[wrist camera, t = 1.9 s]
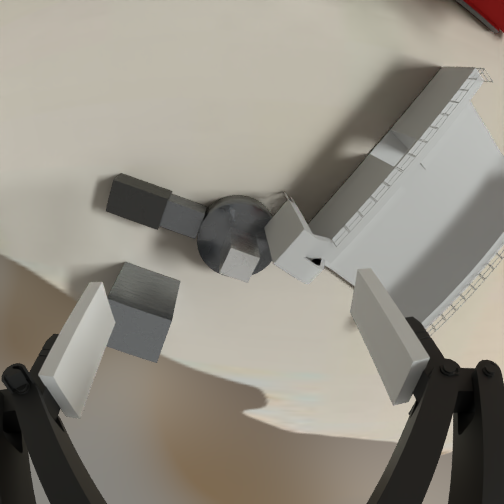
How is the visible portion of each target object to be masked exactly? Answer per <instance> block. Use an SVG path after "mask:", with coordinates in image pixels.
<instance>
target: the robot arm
mask: <svg viewBox="0 0 504 504" xmlns="http://www.w3.org/2000/svg"><path fill="white" fill-rule="evenodd" d="M350 313H351V315H352V317H353V319H354V321H355V323H356V325H357V327H358V329H359V331H360V333H361V335H362V338H363V340H364V342H365V344H366V346H367V348H368V350H369V353H370V355H371V357H372V359H373V361H374V363H375V366H376V368H377V370H378V372H379V375H380V377H381V379H382V381H383V384H384V386H385V388H386V390H387V393H388V395H389V397H390V400H391V402H392V404H393V406H394V405H398V404H402V403H406V402H409V400H410V398H411V396H412V394H414V396H415V398H416V401H415V403H414V405H413V407H412V409H411V410H410V412H409V415H410V416H409V418H408V421H407V423H406V425H405V428H404V430H403V432H402V435H401V437H400V439H399V442H398V444H397V446H396V448H395V450H394V452H393V455H392V457H391V459H390V461H389V463H388V465H387V467H386V469H385V471H384V473H383V475H382V477H381V479H380V481H379V482H378V484H377V486H376V488H375V490H374V492H373V493H372V495H371V497H370V499H369V501H368V502H367V504H422V502H423V499H424V497H425V494H426V492H427V490H428V487H429V485H430V482H431V480H432V477H433V474H434V472H435V469H436V466H437V464H438V460H439V458H440V455H441V452H442V449H443V446H444V443H445V439H446V436H447V433H448V429H449V426H450V422H451V419H452V415H453V455H452V471H451V484H450V492H449V501H448V504H504V383H503V378H502V373H501V370H500V368H499V366H498V365H497V364H496V363H494V362H493V361H490V360H482V361H480V362H479V363H478V364H477V366H476V368H460V366H459V365H458V364H457V363H456V362H455V361H453V360H451V359H445V358H444V357H443V355H442V353H441V352H440V350H439V349H438V347H437V346H436V344H435V343H434V341H433V340H432V338H430V335H429V334H428V332H426V329H425V328H424V326H423V325H422V323H421V322H419V321H418V320H417V319H415V318H414V317H413V316H412V317H404V316H403V314H402V313H401V311H400V310H399V308H398V307H397V305H396V304H395V302H394V301H393V299H392V298H391V297H390V295H389V294H388V292H387V291H386V289H385V288H384V286H383V285H382V283H381V282H380V281H379V279H378V278H377V276H376V275H375V273H374V272H373V271H372V269H371V268H366V269H357V275H356V281H355V287H354V293H353V299H352V304H351V310H350ZM114 325H115V320H114V317H113V314H112V311H111V308H110V305H109V302H108V299H107V295H106V292H105V289H104V285H103V282H90V283H89V284H88V286H87V288H86V289H85V291H84V292H83V294H82V296H81V297H80V299H79V301H78V302H77V304H76V306H75V307H74V309H73V311H72V313H71V314H70V316H69V318H68V320H67V321H66V323H65V325H64V327H63V329H62V330H61V332H60V334H53V335H52V336H51V337H50V338H49V339H48V340H47V341H46V343H45V344H44V346H43V348H42V350H41V352H40V353H39V356H38V357H37V359H36V361H35V363H34V365H33V366H32V368H31V370H30V372H28V370H27V369H26V367H25V366H24V365H23V364H20V363H16V364H13V365H11V366H9V367H7V369H6V370H5V371H4V372H3V375H2V382H3V383H4V384H5V386H6V387H7V389H4V390H0V504H36V501H35V495H34V490H33V484H32V478H31V471H30V464H29V455H28V452H29V454H30V457H31V460H32V462H33V465H34V467H35V470H36V472H37V475H38V477H39V480H40V482H41V484H42V486H43V488H44V491H45V493H46V495H47V497H48V500H49V502H50V504H107V503H106V501H105V500H104V498H103V497H102V495H101V494H100V492H99V490H98V489H97V487H96V485H95V484H94V482H93V480H92V479H91V477H90V475H89V474H88V472H87V470H86V468H85V466H84V465H83V463H82V461H81V459H80V457H79V455H78V453H77V452H76V450H75V448H74V446H73V444H72V442H71V440H70V438H69V436H68V434H67V431H66V429H65V427H64V425H63V423H62V421H61V419H60V417H59V416H58V414H59V411H60V409H61V410H62V412H63V413H64V414H65V416H67V417H73V418H79V419H80V418H81V415H82V412H83V409H84V406H85V403H86V400H87V397H88V394H89V391H90V388H91V385H92V383H93V380H94V377H95V374H96V372H97V369H98V366H99V364H100V361H101V358H102V356H103V353H104V350H105V348H106V345H107V343H108V340H109V338H110V335H111V333H112V330H113V328H114Z"/></svg>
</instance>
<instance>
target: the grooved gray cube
mask: <svg viewBox="0 0 504 504" xmlns="http://www.w3.org/2000/svg"><path fill="white" fill-rule="evenodd" d="M179 285H180V281H179V280H176V279H173V278H170V277H167V276H164V275H161V274H158V273H156V272H153V271H150V270H147V269H144V268H141V267H139V266H136V265H133V264H130V263H128V262H125V264H124V266H123V268H122V270H121V271H120V273H119V275H118V277H117V279H116V281H115V283H114V285H113V287H112V289H111V291H110V293H109V295H108V297H107V299H108V302H109V305H110V308H111V311H112V314H113V317H114V320H115V325H114V328H113V330H112V333H111V335H110V338H109V340H108V343H107V345H106V346H107V347H110V348H113V349H116V350H119V351H122V352H125V353H128V354H131V355H134V356H137V357H140V358H143V359H146V360H149V361H152V362H156V363H157V361H158V358H159V355H160V352H161V349H162V347H163V344H164V341H165V338H166V335H167V333H168V330H169V327H170V324H171V322H172V318H173V313H174V308H175V303H176V298H177V294H178V289H179Z"/></svg>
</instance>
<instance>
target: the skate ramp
mask: <svg viewBox="0 0 504 504" xmlns="http://www.w3.org/2000/svg"><path fill="white" fill-rule="evenodd" d="M477 69H479V70H481V69H485V68H474V67H442V68H441V69H440V70H439V72H438V73H437V74H436V75H435V76H434V78H433V79H432V80H431V81H430V83H429V84H428V85H427V86H426V87H425V89H424V90H423V91H422V92H421V93H420V95H419V96H418V97H417V98H416V99H415V101H414V102H413V103H412V104H411V105H410V107H409V108H408V109H407V110H406V111H405V113H404V114H403V115H402V116H401V117H400V119H399V120H398V121H397V122H396V123H395V124H394V126H393V127H392V128H391V129H390V130H389V132H388V133H387V134H386V135H385V136H384V138H383V139H382V140H381V141H380V142H379V143H378V145H377V146H376V147H375V148H374V149H373V150H372V152H371V153H370V154H369V155H368V156H367V157H366V158H365V160H364V161H363V162H362V163H361V164H360V165H359V167H358V168H357V169H356V170H355V171H354V172H353V174H352V175H351V176H350V177H349V178H348V179H347V180H346V182H345V183H344V184H343V185H342V186H341V187H340V188H339V190H338V191H337V192H336V193H335V194H334V195H333V196H332V198H331V199H330V200H329V201H328V202H327V203H326V204H325V206H324V207H323V208H322V209H321V210H320V211H319V212H318V214H317V215H316V216H315V217H314V218H313V219H312V220H311V221H310V223H309V224H307V222H306V221H305V219H304V217H303V215H302V214H301V212H300V210H299V208H298V207H297V205H296V204H295V202H294V200H293V199H292V197H291V196H290V198H291V200H292V201H290V200H289V198H288V196H287V194H286V193H285V191H284V194H285V196H286V198H287V201H286V202H285V204H284V205H283V206H282V207H281V208H280V209H279V211H278V212H277V213H276V214H275V215H274V216H273V218H272V219H271V220H270V221H269V222H268V224H267V225H266V226H265V227H264V229H265V233H266V237H267V241H268V245H269V249H270V253H271V257H272V261H273V264H274V265H276V266H278V267H279V268H281V269H282V270H284V271H285V272H287V273H288V274H290V275H291V276H293V277H294V278H296V279H298V280H299V281H301V282H303V283H305V284H310V282H311V281H312V280H313V279H314V278H315V277H316V276H317V275H318V274H319V273H320V272H321V271H322V270H323V269H324V266H326V267H328V268H330V269H331V270H333V271H334V272H336V273H337V274H338V275H340V276H341V277H342V278H344V279H345V280H347V281H348V282H349V283H351V284H352V285H353V286H355V281H356V275H357V269H366V268H371V269H372V271H373V272H374V273H375V275H376V276H377V278H378V279H379V281H380V282H381V283H382V285H383V286H384V288H385V289H386V291H387V292H388V294H389V295H390V297H391V298H392V299H393V301H394V302H395V304H396V305H397V307H398V308H399V310H400V311H401V313H402V314H403V316H404V317H412V316H413V317H414V318H415V319H417V320H418V321H419V322H421V323H422V325H423V326H424V328H425V329H427V328H428V327H429V326H430V325H431V324H432V323H433V322H434V321H435V320H436V319H437V318H438V317H439V316H440V315H441V314H442V313H443V312H444V311H445V310H446V309H447V308H448V307H449V306H450V305H451V306H453V305H452V303H453V302H454V301H455V300H456V299H457V298H458V297H459V296H461V295H462V293H463V291H464V290H465V289H466V288H467V287H468V286H469V285H470V286H471V287H472V288H473V289H474V290H475V291H476V289H475V288H474V286H472V285H471V283H472V282H473V280H474V279H475V278H476V277H477V276H478V275H479V274H480V273H481V271H482V270H483V269H484V268H485V267H486V266H487V264H488V265H489V266H490V267H491V268H492V269H493V267H492V265H493V264H492V265H490V264H489V262H490V261H491V260H492V258H493V257H494V256H495V255H496V253H497V252H498V251H499V250H500V248H501V247H502V246H503V245H504V156H503V155H502V153H501V152H500V150H499V148H498V147H497V145H496V143H495V141H494V139H493V138H492V136H491V134H490V132H489V131H488V129H487V127H486V125H485V124H484V122H483V121H482V119H481V117H480V116H479V114H478V113H477V111H476V109H475V108H474V106H473V104H472V102H471V99H472V97H473V96H474V94H475V93H476V92H477V90H478V89H479V88H480V86H481V85H482V84H483V82H484V80H483V78H482V77H481V74H479V72H478V71H479V70H478V71H477ZM481 71H482V70H481ZM483 71H484V70H483ZM483 71H482V72H481V73H483ZM485 71H486V70H485ZM483 74H484V73H483ZM487 74H488V73H487ZM484 76H485V75H484ZM488 76H489V75H488ZM485 77H486V76H485ZM489 77H490V76H489ZM486 79H487V78H486ZM490 79H491V78H490ZM491 80H492V79H491ZM486 82H491V81H488V80H487V81H486ZM492 82H493V81H492ZM289 246H290V247H289ZM503 251H504V250H503ZM497 254H498V253H497ZM501 254H502V253H501ZM501 254H500V255H501ZM500 255H499V254H498V256H499V257H500V258H501V256H500ZM320 258H322V259H321V260H320ZM503 258H504V257H503ZM497 259H498V258H497ZM497 259H496V260H497ZM501 259H502V258H501ZM496 260H495V261H496ZM499 263H500V262H499ZM499 263H498V264H499ZM498 264H497V265H498ZM495 268H496V267H495ZM495 268H494V269H495ZM494 269H493V270H494ZM493 270H492V271H493ZM487 271H488V270H487ZM487 271H486V272H487ZM486 272H485V273H486ZM485 273H484V274H485ZM480 275H481V274H480ZM480 275H479V276H480ZM489 275H490V274H489ZM489 275H488V276H489ZM481 276H482V275H481ZM481 276H480V277H481ZM488 276H487V277H488ZM482 277H483V276H482ZM482 277H481V278H482ZM487 277H486V278H487ZM481 278H480V279H481ZM483 278H484V277H483ZM483 278H482V279H483ZM480 279H479V280H480ZM484 279H485V278H484ZM484 279H483V280H484ZM479 280H478V281H479ZM478 281H477V282H478ZM483 282H484V281H483ZM483 282H482V283H483ZM482 283H481V284H482ZM481 284H480V285H481ZM480 285H479V286H480ZM472 288H471V289H472ZM471 289H470V290H471ZM470 290H469V291H470ZM469 291H468V292H469ZM475 291H474V292H475ZM468 292H467V293H468ZM474 292H473V293H474ZM473 293H472V294H473ZM472 294H471V295H472ZM471 295H470V296H471ZM470 296H469V297H470ZM461 297H462V296H461ZM469 297H468V298H469ZM462 298H463V297H462ZM463 299H464V300H465V301H466V299H465V298H463ZM461 300H462V299H461ZM461 300H460V301H461ZM460 301H459V302H460ZM459 302H458V303H459ZM458 303H457V304H458ZM457 304H456V305H457ZM456 305H455V306H456ZM462 305H463V304H462ZM462 305H461V306H462ZM455 306H454V307H455ZM461 306H460V307H461ZM460 307H459V308H460ZM459 308H458V309H459ZM452 309H454V310H455V312H456V311H457V310H458V309H457V310H456V309H455V308H452ZM452 309H451V310H452ZM451 310H450V311H451ZM450 311H449V312H450ZM449 312H448V313H449ZM455 312H454V313H455ZM448 313H447V314H448ZM454 313H453V314H454ZM447 314H446V315H447ZM453 314H452V315H453ZM446 315H445V316H446ZM452 315H451V316H452ZM441 316H443V315H441ZM445 316H443V317H444V318H445ZM451 316H450V317H451ZM450 317H449V318H450ZM444 318H442V319H444ZM449 318H448V319H449ZM442 319H441V320H442ZM448 319H447V320H448ZM441 320H440V321H441ZM444 320H446V319H444ZM447 320H446V321H447ZM440 321H439V322H440ZM446 321H445V322H446ZM439 322H438V323H439ZM445 322H444V323H445ZM438 323H437V324H438ZM444 323H443V324H444ZM437 324H436V325H437ZM443 324H442V325H443ZM436 325H435V326H436ZM442 325H441V326H442ZM431 326H433V325H431ZM435 326H433V327H435ZM441 326H440V327H441ZM440 327H439V328H440ZM439 328H438V329H439ZM432 329H434V328H432ZM432 329H431V330H432ZM438 329H437V330H438ZM431 330H430V331H431ZM435 330H436V329H435Z"/></svg>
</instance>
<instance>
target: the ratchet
mask: <svg viewBox="0 0 504 504" xmlns="http://www.w3.org/2000/svg"><path fill="white" fill-rule="evenodd" d="M206 207H207V206H204V205H201V204H199V203H196V202H193V201H191V200H188V199H185V198H182V197H180V196H177V195H174V194H172V191H170V190H167V189H165V188H162V187H159V186H156V185H154V184H151V183H148V182H145V181H142V180H139V179H137V178H134V177H131V176H128V175H125V174H122V173H121V174H120V175H119V176H118V177H116V178H115V179H114V180H113V184H112V188H111V192H110V195H109V199H108V203H107V208H106V211H107V212H110V213H112V214H115V215H118V216H121V217H123V218H126V219H129V220H132V221H134V222H137V223H140V224H143V225H146V226H148V227H151V228H154V229H157V230H158V228H159V226H160V227H163V228H166V229H169V230H172V231H174V232H177V233H180V234H183V235H186V236H188V237H191V238H194V239H195V238H196V236H197V233H198V238H197V245H198V250H199V253H200V255H201V257H202V259H203V261H204V262H205V263H206V264H207V265H208V266H209V267H210V268H211V269H212V270H214V271H215V272H217V273H219V274H222V275H225V276H229V277H232V278H235V279H238V280H241V281H244V282H247V283H248V281H249V279H250V277H251V275H253V274H256V273H258V272H260V271H261V270H263V269H264V268H265V267H267V266H268V265H269V264H270V262H271V261H272V257H271V253H270V249H269V245H268V241H267V237H266V233H265V229H264V227H265V226H266V225H267V224H268V222H269V221H270V220H271V219H272V218H273V217H272V215H271V213H270V211H269V210H268V209H267V208H266V206H265V205H263V204H262V203H261V202H259V201H258V200H256V199H254V198H251V197H248V196H242V195H234V196H228V197H225V198H222V199H220V200H218V201H216V202H215V203H213V204H212V205H211V206H210V207H209V208H208V209H207V210H206ZM198 231H199V232H198Z"/></svg>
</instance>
